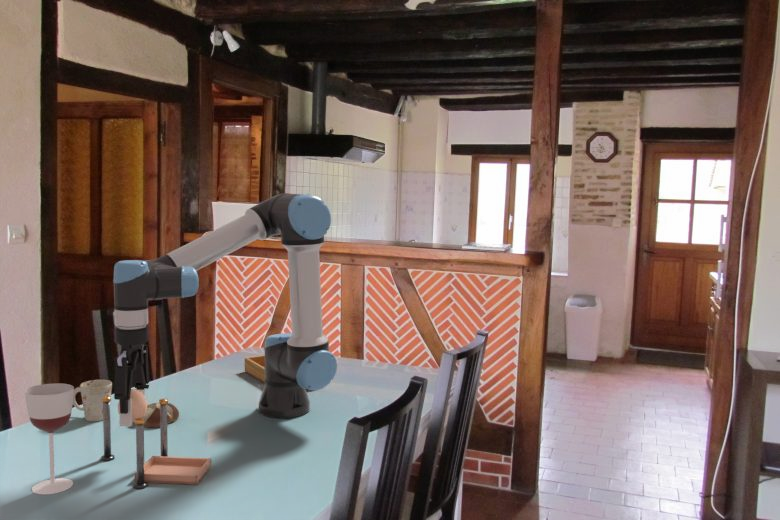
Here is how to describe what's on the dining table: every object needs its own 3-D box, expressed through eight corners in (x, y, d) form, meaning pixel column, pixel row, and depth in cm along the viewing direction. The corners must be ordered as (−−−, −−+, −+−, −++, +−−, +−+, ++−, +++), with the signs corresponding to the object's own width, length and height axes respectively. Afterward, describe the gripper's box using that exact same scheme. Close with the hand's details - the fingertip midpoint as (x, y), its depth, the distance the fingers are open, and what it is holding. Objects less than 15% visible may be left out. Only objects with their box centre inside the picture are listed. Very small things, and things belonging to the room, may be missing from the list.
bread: (185, 418, 200) (185, 401, 199) (156, 431, 189) (156, 413, 189) (155, 412, 204) (155, 395, 204) (126, 424, 194) (125, 406, 193)
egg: (119, 427, 163) (119, 394, 162) (116, 419, 168) (116, 387, 168) (149, 424, 166) (149, 391, 165) (145, 415, 172) (145, 384, 171)
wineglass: (38, 478, 158) (35, 383, 155) (82, 477, 159) (79, 383, 156) (21, 495, 149) (17, 395, 147) (67, 494, 150) (64, 395, 147)
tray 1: (211, 466, 166) (211, 458, 166) (197, 484, 156) (197, 476, 156) (152, 463, 167) (152, 455, 167) (135, 482, 157) (134, 473, 157)
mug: (101, 424, 193) (100, 389, 192) (60, 420, 195) (60, 385, 194) (118, 414, 201) (118, 380, 200) (79, 410, 203) (79, 377, 202)
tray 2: (323, 389, 232) (323, 372, 231) (281, 395, 224) (281, 378, 223) (283, 367, 257) (283, 352, 257) (244, 373, 249) (244, 357, 248)
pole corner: (172, 459, 170) (171, 398, 168) (168, 463, 167) (167, 402, 166) (160, 458, 170) (159, 397, 169) (155, 463, 167) (154, 401, 166)
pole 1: (116, 456, 171) (115, 395, 169) (110, 461, 168) (109, 399, 166) (104, 456, 171) (103, 395, 169) (98, 460, 168) (97, 399, 166)
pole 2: (150, 483, 156) (149, 417, 155) (144, 489, 153) (143, 422, 152) (136, 482, 156) (135, 416, 155) (131, 488, 153) (130, 421, 152)
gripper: (133, 317, 174) (134, 406, 177) (96, 334, 155) (98, 434, 158) (162, 318, 174) (163, 408, 177) (129, 335, 155) (130, 435, 157)
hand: (132, 420), depth 167 cm, fingers closed on egg, 7 cm apart
